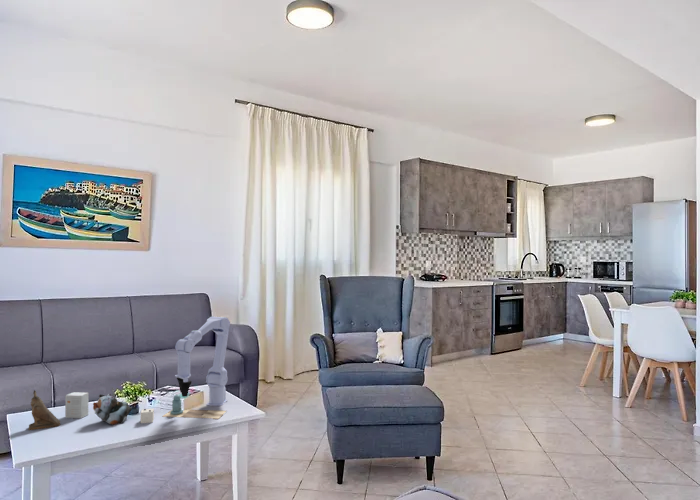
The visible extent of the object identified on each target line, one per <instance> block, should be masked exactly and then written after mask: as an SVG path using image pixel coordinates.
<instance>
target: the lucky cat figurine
mask: <svg viewBox="0 0 700 500" xmlns="http://www.w3.org/2000/svg"><path fill="white" fill-rule="evenodd" d="M92 405H93V407H92V409H93V411H94V414H95V415H96V416H97V417H98V418H99V419H101V421H103V422H106V423H108V424H109V425H112V426H114V425H118V424H122V423H124V422H125V421H127V418H128V416H129V414H130V413H131V411H132V410H133V407H131V406H130V405H129V403H127V402H126V401H118V399H117V398H116V397H115V396H113V395H112V394H111V393H108V394H107V395H103V394H99V395H98V400H97V401H96V402H93V404H92Z"/></svg>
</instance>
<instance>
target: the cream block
mask: <svg viewBox="0 0 700 500" xmlns="http://www.w3.org/2000/svg"><path fill="white" fill-rule="evenodd" d="M154 419H155V408H143V409H141V411H140V424H149V423H150V424H151V423H153V422H154Z"/></svg>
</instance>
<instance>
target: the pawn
mask: <svg viewBox="0 0 700 500" xmlns="http://www.w3.org/2000/svg"><path fill="white" fill-rule="evenodd" d="M171 405H172V407H171V410H170V411H171V412H170V414H172V415H178V414H182V413H183V410H182V399H181V396H180V395H179V394H175V395H173V399H172V404H171Z"/></svg>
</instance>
